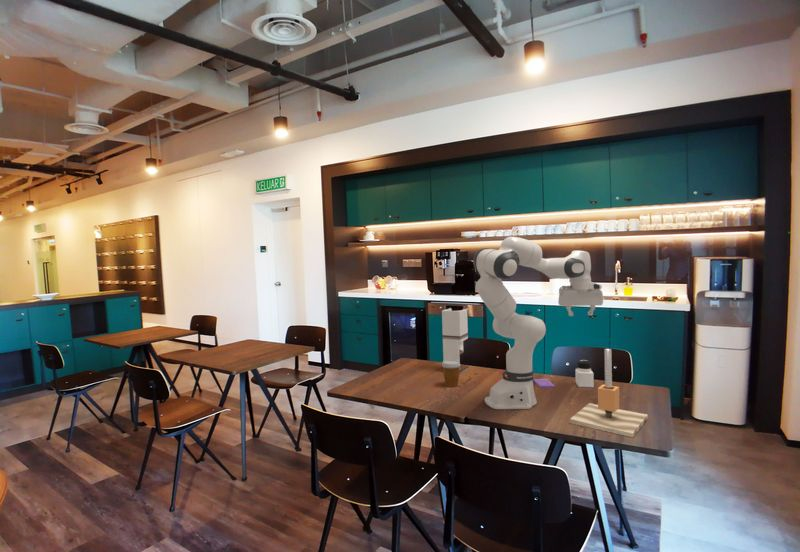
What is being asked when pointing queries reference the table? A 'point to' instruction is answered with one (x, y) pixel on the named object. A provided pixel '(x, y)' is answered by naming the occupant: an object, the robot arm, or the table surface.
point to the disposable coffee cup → (451, 372)
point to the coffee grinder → (454, 334)
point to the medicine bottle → (584, 374)
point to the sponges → (544, 383)
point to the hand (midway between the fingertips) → (580, 315)
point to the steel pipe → (608, 376)
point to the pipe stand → (610, 420)
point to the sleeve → (608, 398)
